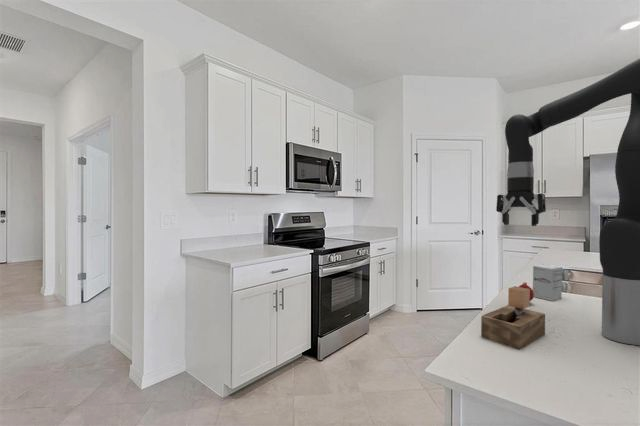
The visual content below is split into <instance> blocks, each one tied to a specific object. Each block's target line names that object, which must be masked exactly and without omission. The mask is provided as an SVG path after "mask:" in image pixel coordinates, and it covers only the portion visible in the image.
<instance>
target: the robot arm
mask: <svg viewBox="0 0 640 426" xmlns="http://www.w3.org/2000/svg"><path fill="white" fill-rule="evenodd" d="M626 95H630V110H629V116H628V120H627V122H626V125H625V127H624V129H623V131H622V134H621V137H620V140H619V143H618V146H617V152H616V156H615V163H614V164H615V165H614V168H615V169H614V174H615V181H616V186H617V190H618V199H619V200H618V207H617V211H616V216H615V218H613V219H611V220H609V221H607V222H606V223H604V224H603V225H602V227H601V228H600V232H599V238H598V240H599V244H598V245H599V247H598V249H599V263H600V265H601V269H602V284H601V285H602V286H601V287H602V289H601V290H602V294H601V295H602V296H601V300H602V301H601V325H600V326H601V335H602V337H604V338H606V339H608V340H612V341H614V342H617V343H622V344H626V345H627V344H628V345H634V346H640V57H639V58H637V59H636V60H634V61H633V62H631V63H628V64H626V65H625V66H623V67H622V68H620V69H618V70H617V71H615V72H613V73H611V74H609V75H608V76H606V77H604V78H602V79H600V80H598V81H597V82H596V81H595V83H592V84H591V85H588V86H585V87H584V88H581V89H580V90H577V91H574V92H573V93H570V94H568V95H566V96H563V97H560V98H559V99H556V100H553V101H552V102H549V103H547V104H546V103H545V104H544V105H543V106H540V108H539V109H538V111H536V112H534V113H533V114H530V115H527V116H526V115H524V114H515V115H512V116H511V117H510V118H508V120H507V121H506V122H505V123H506V124H505V128H504V132H505V134H504V135H505V140H506V146H507V150H508V155H507V157H508V158H507V160H508V161H507V164H508V165H507V171H506V172H507V173H506V177H507V178H506V182H507V183H506V185H507V186H506V191H507V193H506V194H497V196H496V208H495V210H496V212H498V213H500V214H502V217H501V218H502V220H501V221H502V223H503V225H504V226H505V225H506V226H509V225H510V214H509V213H510V212H511V210H512V209H514V208H527V209H528V211H530V213H531V220H530V221H531V223H530V224H531V227H536V226H537V225H538V224H539V219H540V217H539V216H540V214H542V213H545V212H546V210H547V208H546V207H547V206H546V194H545V193H537V194H535V193H534V188H535V187H534V186H535V185H534V183H535V181H534V178H535V175H534V173H535V169H534V167H535V166H534V148H533V145H531V144H530V137H531V138H532V137H533V136H536V135H538V134H540V133H542V132H544V131H546V130H547V129H549V128H550V127H551V128H552V127H553V126H556V125H560V124H562V123H565V122H568V121H571V120H573V119H575V118H578V117H579V116H581V115H583V114H585V113H587V112H589V111H591V110H592V109H594V108H596V107H598V106H600V105H602V104H604V103H607V102H609V101H611V100H614V99H616V98H619V97H623V96H626ZM506 200H507V201H508V202H506V204H505V201H506ZM533 200H535V201H537V207H536V204H534V202H533ZM504 204H505V206H504Z"/></svg>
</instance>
